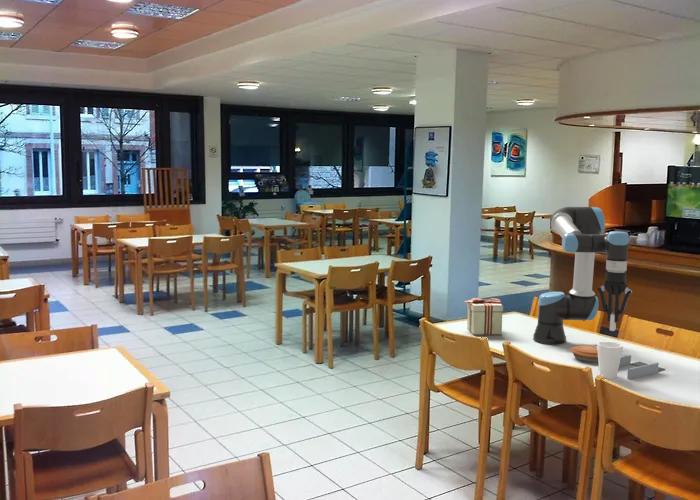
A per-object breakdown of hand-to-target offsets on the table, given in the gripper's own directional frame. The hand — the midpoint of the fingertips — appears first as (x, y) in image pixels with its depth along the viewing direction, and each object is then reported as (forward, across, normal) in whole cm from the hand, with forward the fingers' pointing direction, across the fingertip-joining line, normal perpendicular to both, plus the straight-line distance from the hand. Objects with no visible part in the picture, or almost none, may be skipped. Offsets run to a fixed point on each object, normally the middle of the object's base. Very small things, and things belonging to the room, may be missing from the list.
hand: (612, 330), depth 257 cm
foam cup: (+19, 0, -1) cm, 19 cm away
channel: (+19, +4, +11) cm, 22 cm away
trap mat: (+19, +9, +22) cm, 30 cm away
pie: (+19, -14, +19) cm, 30 cm away
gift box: (+19, -73, +34) cm, 83 cm away
